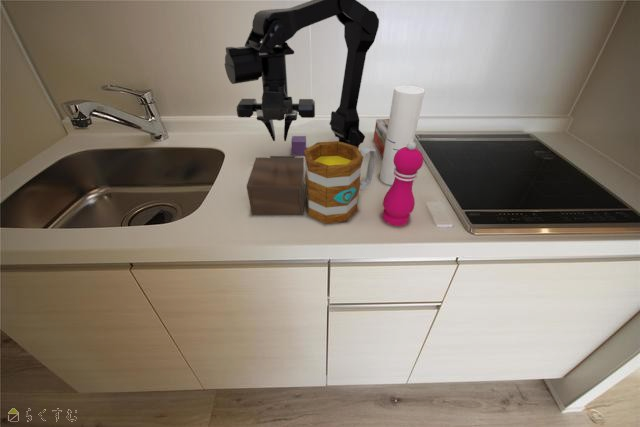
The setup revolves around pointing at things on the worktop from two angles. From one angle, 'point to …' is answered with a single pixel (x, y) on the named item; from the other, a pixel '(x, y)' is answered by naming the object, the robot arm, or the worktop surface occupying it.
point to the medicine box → (381, 134)
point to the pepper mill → (402, 185)
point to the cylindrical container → (400, 126)
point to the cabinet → (276, 186)
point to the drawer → (282, 156)
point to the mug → (335, 180)
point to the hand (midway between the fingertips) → (279, 140)
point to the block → (298, 145)
